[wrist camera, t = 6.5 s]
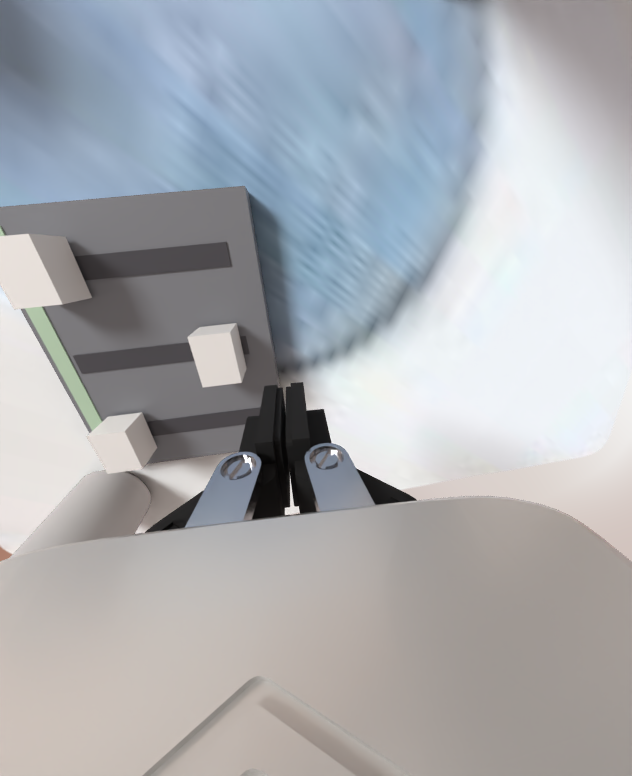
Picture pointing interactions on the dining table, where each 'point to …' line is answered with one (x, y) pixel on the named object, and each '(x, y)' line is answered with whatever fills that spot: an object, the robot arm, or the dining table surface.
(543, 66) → the dining table surface
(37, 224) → the breaker panel
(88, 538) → the can
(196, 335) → the handle
